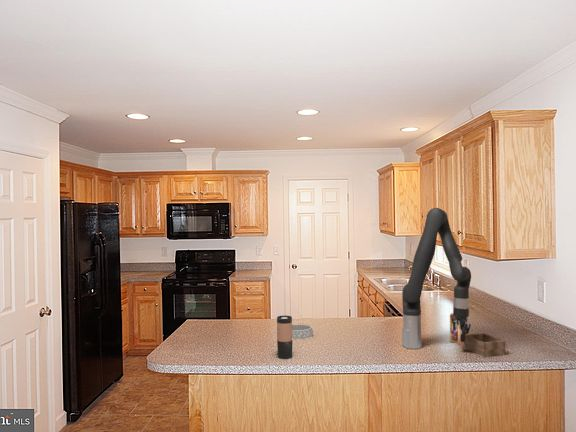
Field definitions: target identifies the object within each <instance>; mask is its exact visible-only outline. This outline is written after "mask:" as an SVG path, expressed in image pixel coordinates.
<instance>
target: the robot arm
mask: <svg viewBox="0 0 576 432" xmlns="http://www.w3.org/2000/svg"><path fill="white" fill-rule="evenodd" d="M448 217H449V216H448V213H447V212H446V211H445V210H444V209H441V208H439V207H434V208H431V209H429V211H428V212H427V214H426V218H425V223H424V226H423V231H422V233H421V234H422V235H421V237H420V240H419V242H418V245H417V248H416V251H415V253H414V257H413V262H412V265H411V267H412V268H411V273H410V276H409V279H408V282H407V284H405V285H404V286H403V288H402V292H401V293H402V294H401V295H402V296H401V297H402V299H401V301H402V327H401V345H402V347H403V348H406V349H409V350H411V349H412V350H416V349H421V348H422V343H423V342H422V308H421V307H422V306H421V296H422V291H423V288H424V283H425V280H426V276H427V274H429V273H428V272H429V270H430V267H431V265H432V262H433V259H434V255H435V252H436V248H437V246H436V245H437V237H438V235H439V237H440V241H441V244H442V249H443V251H444V255H445V257H446V259H447V262H448V265H449V270H450V271H449V272H450V275H451V277H452V278H453V280H455V281H456V285H455V286H454V288H453V301H452V302H453V303H452V304H453V305H452V307H453V308H452V311H453V312H452V313H453V315H454V316H455V318H452V323H453V328H454V330H456V339H457V340H458V325H459V329H460V333H461V334H460V341H461V342H465V334H468V335H469V334H470V328H471V326H472V325H471V323H469V322H468V323H467V317H468V318H469V317H470V299H469V298H470V297H469V296H470V295H469V293H470V285H471V282H472V281H471V280H472V273H471V270H470V269H469V268H468V267H467V266H463V265H462V260H463V256H462V253H461V251H460V249H459V246H458V244H457V242H456V240H455V238H454V237H455V236H454V235H453V232H452V230H451V226H450V223H449V218H448ZM455 327H456V328H455ZM461 327H464V328H461ZM462 330H463V331H462Z"/></svg>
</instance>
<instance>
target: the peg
mask: <svg viewBox="0 0 576 432" xmlns="http://www.w3.org/2000/svg"><path fill="white" fill-rule="evenodd" d="M461 328H464V327H461ZM462 331H463V330H462ZM460 334H461V333H460V329H459V325H458V343H457V345H458V346H460V347H462V346H463V347H464V342H461V341H460Z"/></svg>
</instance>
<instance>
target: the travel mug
mask: <svg viewBox="0 0 576 432" xmlns="http://www.w3.org/2000/svg"><path fill="white" fill-rule="evenodd" d="M292 325H293V317H292V315H279V316H277V317H276V337H277V338H276V345H277V358H278V359H280V360H290V359H292V358H293V340H292ZM289 358H290V359H289Z"/></svg>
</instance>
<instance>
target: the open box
mask: <svg viewBox="0 0 576 432" xmlns="http://www.w3.org/2000/svg"><path fill="white" fill-rule="evenodd" d="M463 347H464V350H467V351H469V352H472V353H474V354H476V355H478V356H481V357H482V358H490V357H491V358H492V357H500V356H501V357H502V356H506V341H505V340H504V339H500V338H498V337H495V336H492V335H491V334H488V333H485V332H484V333H483V332H481V333H471V334H470V333H468V335H465V342H464V346H463Z"/></svg>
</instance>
